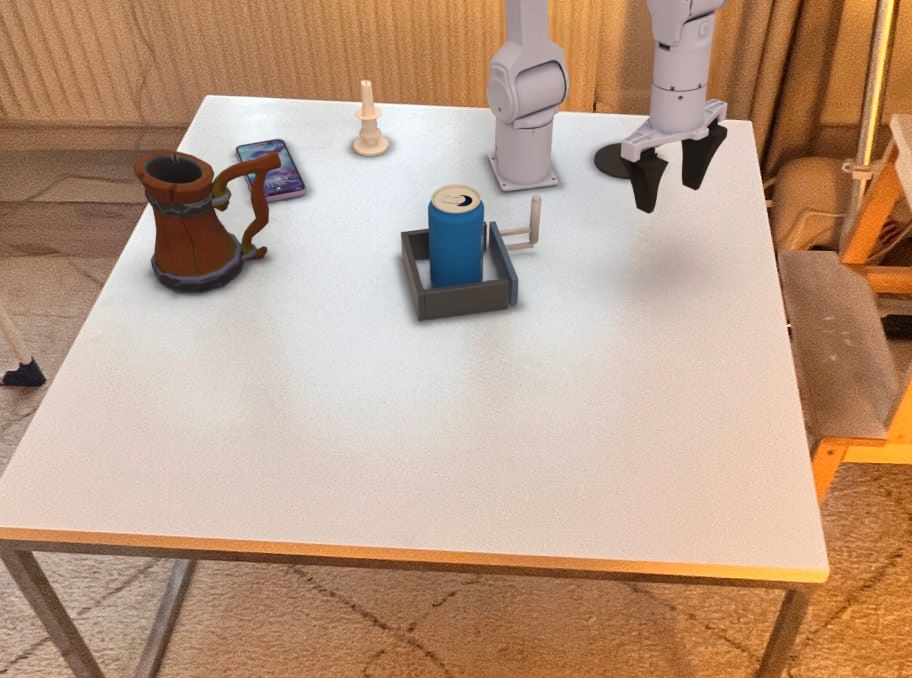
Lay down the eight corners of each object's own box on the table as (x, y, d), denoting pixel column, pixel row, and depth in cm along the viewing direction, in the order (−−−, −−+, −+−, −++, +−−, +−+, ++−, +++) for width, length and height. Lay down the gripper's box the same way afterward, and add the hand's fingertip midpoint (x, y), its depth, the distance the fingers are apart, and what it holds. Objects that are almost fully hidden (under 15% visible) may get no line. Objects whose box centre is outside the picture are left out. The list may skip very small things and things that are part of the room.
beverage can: (478, 301, 112) (479, 216, 103) (425, 295, 113) (422, 211, 104) (486, 269, 116) (488, 184, 107) (435, 263, 117) (433, 179, 108)
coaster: (586, 149, 134) (586, 146, 134) (645, 142, 135) (646, 139, 135) (605, 182, 128) (605, 180, 128) (667, 174, 129) (667, 172, 129)
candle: (395, 143, 137) (391, 75, 129) (376, 159, 134) (370, 91, 126) (366, 134, 139) (360, 66, 131) (346, 150, 136) (339, 82, 128)
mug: (291, 228, 123) (274, 122, 112) (300, 280, 115) (283, 173, 104) (153, 247, 121) (122, 141, 110) (154, 301, 113) (120, 194, 102)
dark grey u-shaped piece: (485, 247, 119) (485, 220, 116) (507, 309, 110) (509, 282, 108) (402, 258, 118) (400, 231, 115) (418, 321, 109) (417, 294, 106)
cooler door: (533, 240, 119) (537, 185, 113) (558, 298, 111) (564, 242, 105) (488, 246, 119) (489, 191, 113) (510, 305, 111) (513, 249, 105)
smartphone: (283, 137, 137) (308, 189, 127) (283, 143, 137) (308, 195, 128) (233, 145, 135) (255, 199, 126) (234, 151, 136) (256, 205, 126)
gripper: (659, 112, 93) (649, 233, 102) (756, 70, 98) (737, 188, 107) (609, 93, 97) (603, 210, 106) (704, 54, 103) (691, 168, 112)
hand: (668, 198), depth 107 cm, fingers open, 7 cm apart
